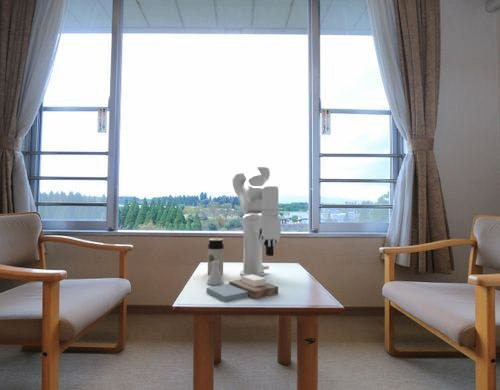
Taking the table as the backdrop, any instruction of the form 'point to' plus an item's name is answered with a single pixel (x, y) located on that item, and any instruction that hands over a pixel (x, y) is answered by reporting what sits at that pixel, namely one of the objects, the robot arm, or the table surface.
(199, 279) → the table surface
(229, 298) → the mat
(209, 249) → the travel mug
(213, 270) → the flask
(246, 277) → the tile
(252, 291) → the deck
